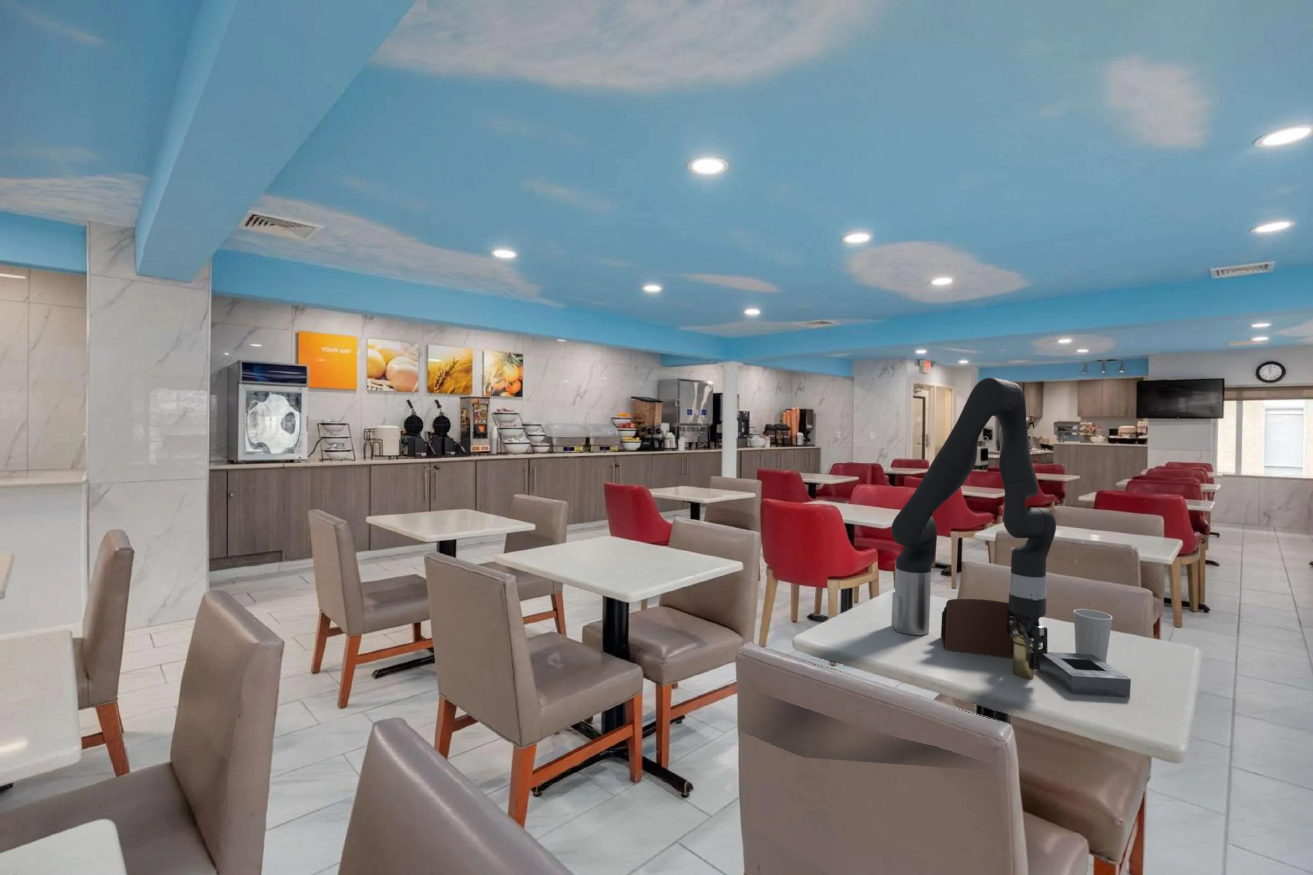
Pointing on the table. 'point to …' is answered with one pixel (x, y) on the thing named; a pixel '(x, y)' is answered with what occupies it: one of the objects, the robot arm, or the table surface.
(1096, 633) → the cup
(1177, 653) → the table surface
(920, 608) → the robot arm
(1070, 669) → the grey hollow block
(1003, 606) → the letter holder
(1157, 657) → the table surface
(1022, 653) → the fitting
